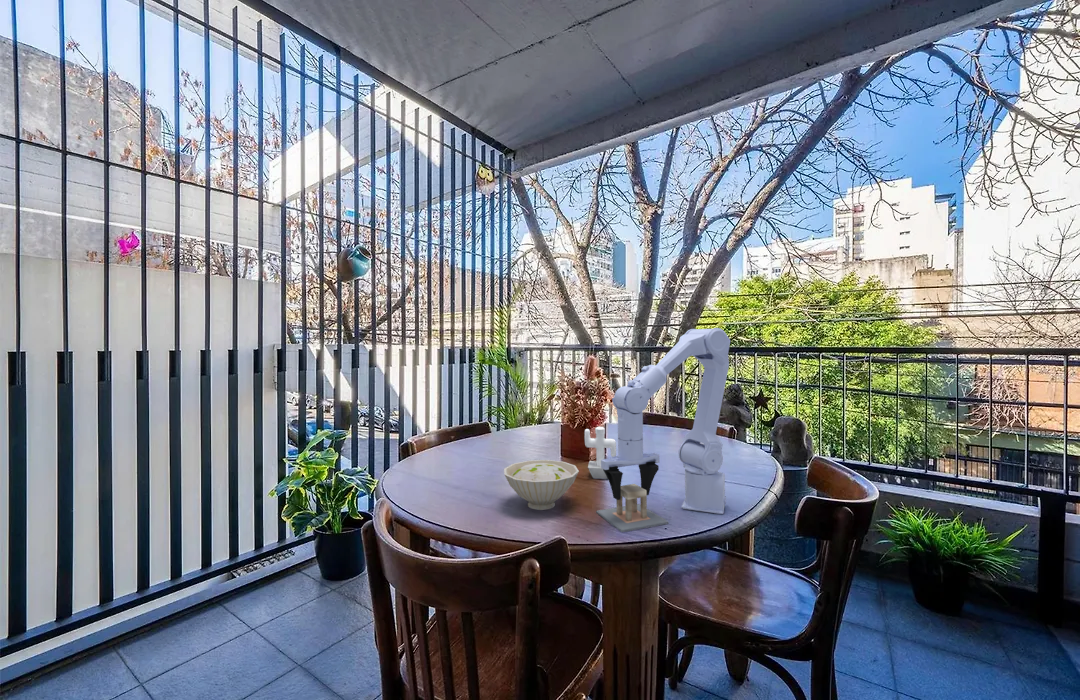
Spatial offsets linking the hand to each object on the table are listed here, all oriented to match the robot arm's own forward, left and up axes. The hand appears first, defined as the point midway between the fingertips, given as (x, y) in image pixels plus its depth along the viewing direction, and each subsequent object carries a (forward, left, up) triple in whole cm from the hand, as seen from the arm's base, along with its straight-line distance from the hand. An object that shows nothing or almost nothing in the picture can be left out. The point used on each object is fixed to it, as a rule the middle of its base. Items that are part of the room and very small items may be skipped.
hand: (631, 496), depth 107 cm
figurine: (+16, -28, -5) cm, 33 cm away
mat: (0, 0, -5) cm, 5 cm away
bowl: (+23, 0, -5) cm, 24 cm away
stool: (0, 0, -5) cm, 5 cm away
